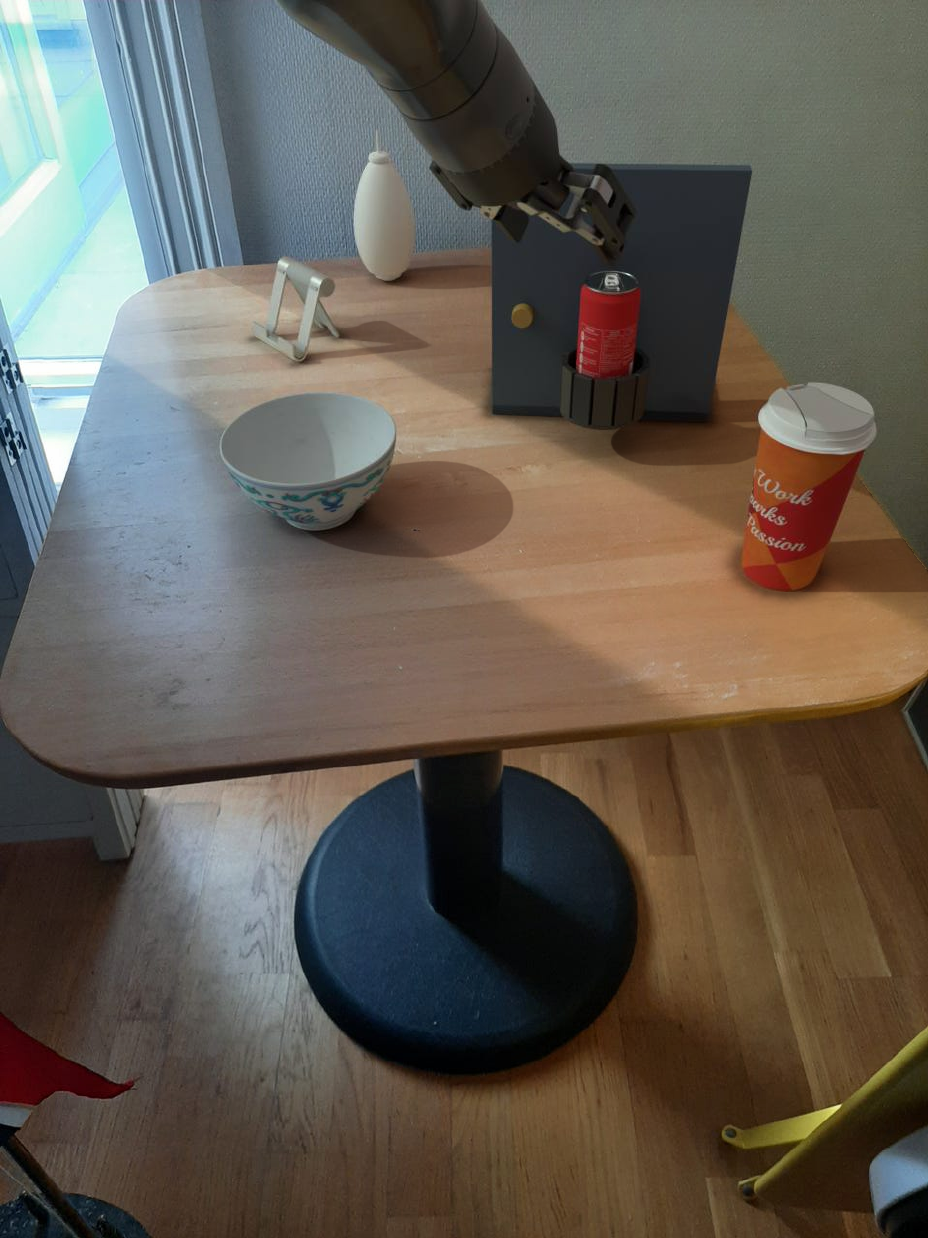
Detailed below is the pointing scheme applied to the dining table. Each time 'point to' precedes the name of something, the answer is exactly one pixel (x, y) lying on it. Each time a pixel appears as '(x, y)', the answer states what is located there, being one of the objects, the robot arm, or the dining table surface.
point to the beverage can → (608, 325)
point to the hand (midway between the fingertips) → (566, 242)
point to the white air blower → (383, 218)
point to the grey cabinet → (669, 305)
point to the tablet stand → (310, 291)
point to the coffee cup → (802, 480)
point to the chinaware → (310, 456)
